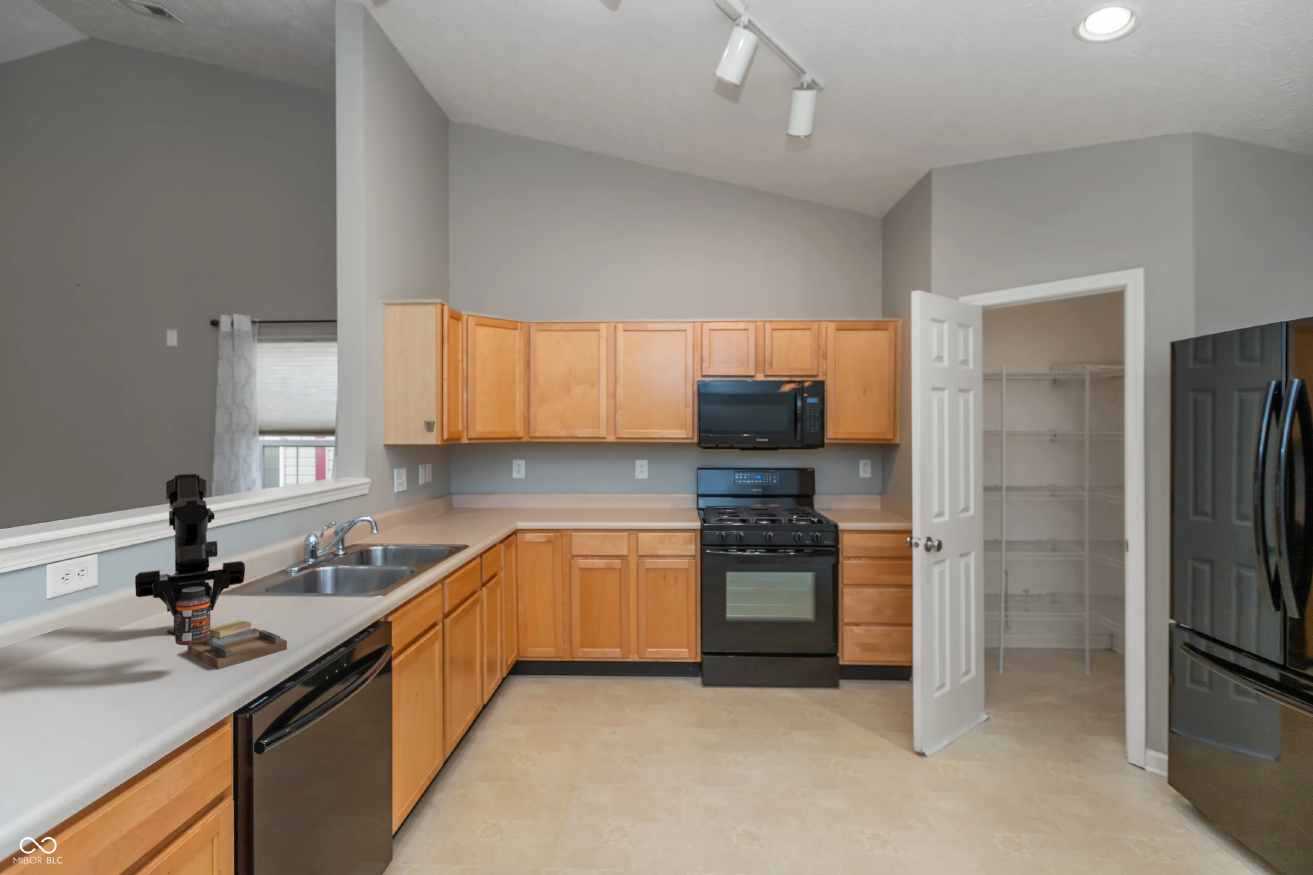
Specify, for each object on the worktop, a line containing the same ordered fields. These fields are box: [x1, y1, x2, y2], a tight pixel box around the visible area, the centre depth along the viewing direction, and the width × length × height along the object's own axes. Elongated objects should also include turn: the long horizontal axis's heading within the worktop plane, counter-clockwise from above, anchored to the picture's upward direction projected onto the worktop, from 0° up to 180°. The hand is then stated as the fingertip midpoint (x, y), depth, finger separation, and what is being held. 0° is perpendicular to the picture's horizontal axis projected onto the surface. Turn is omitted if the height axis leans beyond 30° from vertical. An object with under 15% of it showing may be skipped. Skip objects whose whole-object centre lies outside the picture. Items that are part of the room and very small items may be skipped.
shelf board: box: [186, 620, 288, 670], centre depth 139 cm, size 16×14×5 cm
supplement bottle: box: [174, 587, 211, 646], centre depth 127 cm, size 6×6×11 cm
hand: (193, 612), depth 126 cm, fingers closed on supplement bottle, 6 cm apart
